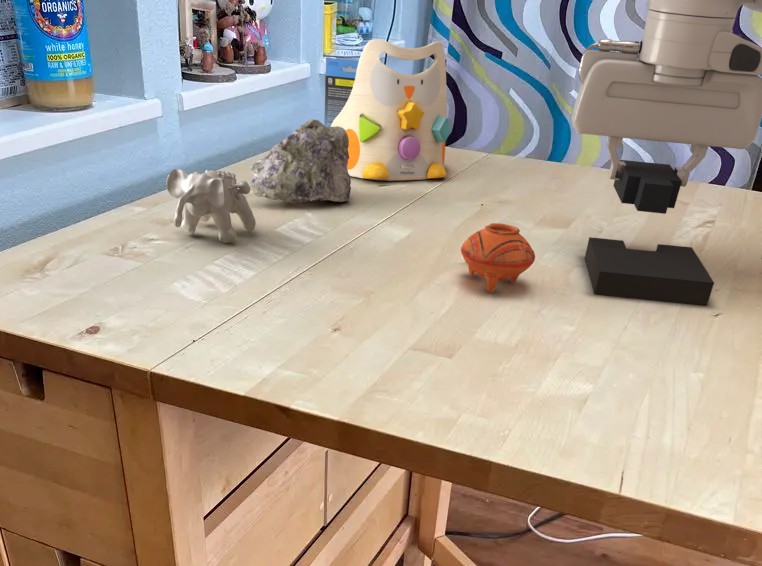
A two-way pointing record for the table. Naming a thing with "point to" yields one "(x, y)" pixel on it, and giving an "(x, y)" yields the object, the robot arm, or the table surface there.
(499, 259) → the pot
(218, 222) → the gray elephant figurine
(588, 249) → the black notched square block
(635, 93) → the robot arm
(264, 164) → the mineral rock
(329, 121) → the tape cartridge
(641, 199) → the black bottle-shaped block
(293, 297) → the table surface
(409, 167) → the shape sorter
